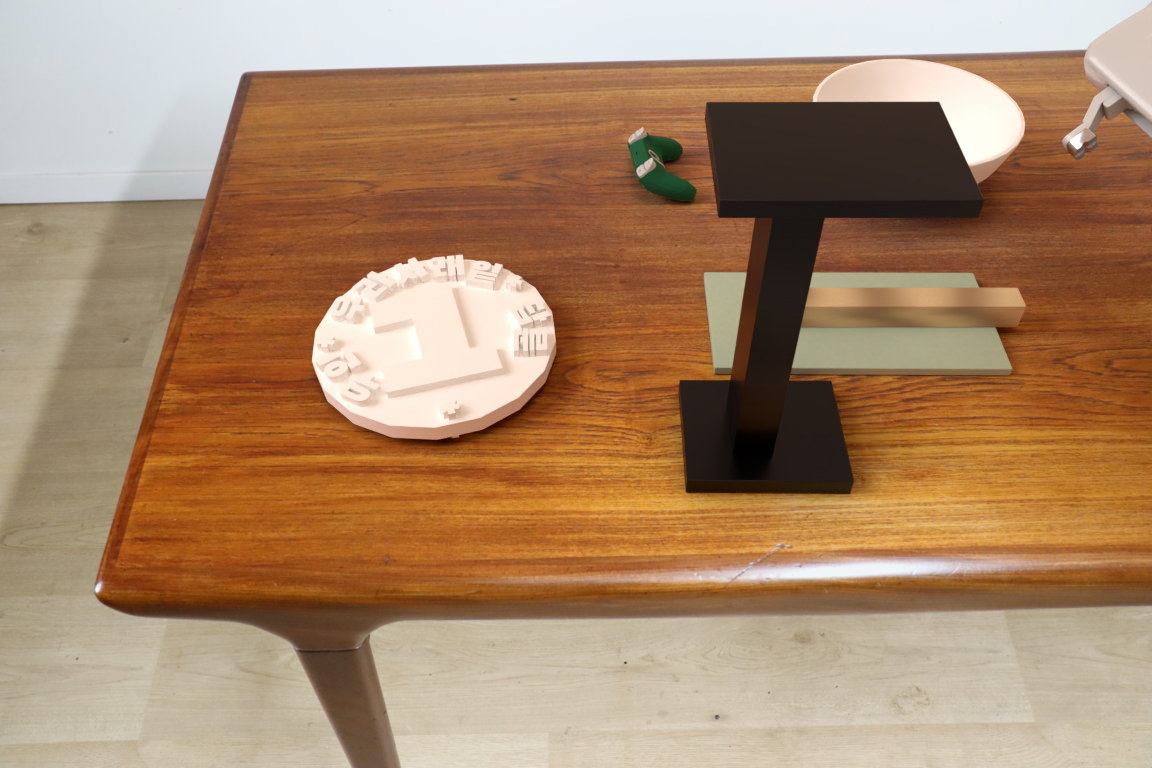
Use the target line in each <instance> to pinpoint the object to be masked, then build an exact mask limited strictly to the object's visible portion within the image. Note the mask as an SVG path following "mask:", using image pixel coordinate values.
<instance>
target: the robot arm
mask: <svg viewBox="0 0 1152 768" xmlns="http://www.w3.org/2000/svg"><path fill="white" fill-rule="evenodd" d="M1083 67H1084V73H1085V77H1086V80H1087V81H1088V82H1089V83H1090V84H1091V85H1092V86H1093V87H1094V88H1096V89H1097V90H1098V91H1099V92H1098V93H1097V94H1096V95H1095V96H1093V98H1092V101H1091V103H1090V105H1089V106H1088V109H1087V111H1086V113H1085V115H1084V117H1083V119H1082V122H1081V124H1080V125H1078V126H1077V127H1076V128H1074V129H1073V130H1071V131H1070V132H1069V133H1067V134H1066V135H1064V137H1062V139H1061V140H1062V141H1061V144H1062V148H1064V150H1066V152H1067V153H1069V155H1070V156H1072V157H1073V158H1074V160H1076V161H1079V160H1081V159H1083V158H1085V156H1086V154H1087V153H1091V152H1092V151H1094V150H1095V149H1096V148H1098V147H1099V145H1098V141H1097V140H1098V138H1097V135H1096V134H1095V133H1096V132H1097V129H1098V128H1099V126H1100V124H1101V122H1102V120H1103V118H1105V119H1106V120H1107V121H1110V122H1111V121H1112V120H1113V119H1115V118H1116V117H1117V116H1119V115H1121V114H1122V113H1123V115H1125V116H1126V117H1127V118H1128V119H1129V120H1130V121H1131V122H1132V123H1134V124H1135V125H1136V126H1137V127H1138V128H1139V129H1140V130H1141V131H1142V132H1143V133H1144V134H1145V135H1147V136H1148V138H1150V139H1151V140H1152V1H1150V2H1149V3H1148V4H1147V5H1146V6H1145V7H1144V8H1142V9H1141V10H1138V11H1137V12H1135V13H1133V14H1132V15H1130V16H1129V17H1127V18H1126V19H1123V20H1122V21H1121V22H1119V23H1117V24H1116V25H1114V26H1112V27H1111V28H1110V29H1108V30H1107V31H1105V32H1103V33H1102V34H1101V35H1099V36H1097V38H1095V39H1093V41H1091V42H1090V43H1089V44H1088V46H1087V48H1086V50H1085V53H1084V57H1083ZM1150 230H1151V232H1152V228H1150Z"/></svg>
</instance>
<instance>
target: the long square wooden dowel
mask: <svg viewBox="0 0 1152 768" xmlns="http://www.w3.org/2000/svg"><path fill="white" fill-rule="evenodd" d="M743 294H744V289H743ZM742 300H743V295H742ZM741 307H742V302H741ZM1026 308H1027V304H1026V303H1025V301H1024V298H1023V296H1022V294H1021V292H1020V289H1019V288H1018V287H979V288H809V293H808V297H807V302H806V306H805V311H804V315H803V320H802V325H801V327H996V328H1018V327H1019V325H1020V322H1021V320H1022V317H1023V315H1024V313H1025V311H1026Z"/></svg>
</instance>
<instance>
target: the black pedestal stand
mask: <svg viewBox="0 0 1152 768" xmlns="http://www.w3.org/2000/svg"><path fill="white" fill-rule="evenodd" d="M704 123H705V131H706V139H707V145H708V154H709V161H710V168H711V175H712V176H711V177H712V181H713V191H714V198H715V204H716V205H715V206H716V213H717V217H718V218H719V219H754V222H753V228H752V229H753V230H752V236H751V243H750V248H749V255H748V262H747V268H746V272H747V274H746V281H745V287H744V294H743V300H742V307H741V313H740V320H739V326H738V333H737V339H736V346H735V353H734V359H733V366H732V372H731V374H730V379H679V381H678V382H679V383H678V391H677V393H678V406H679V419H680V430H681V431H680V433H681V446H682V462H683V473H684V475H683V477H684V487H685V493H692V494H693V493H695V494H696V493H699V494H700V493H701V494H705V493H707V494H708V493H709V494H710V493H711V494H715V493H716V494H721V493H722V494H823V495H824V494H826V495H828V494H829V495H831V494H834V495H835V494H836V495H846V494H847V495H850V494H851V493H852V489H853V486H854V483H855V479H854V475H853V469H852V465H851V461H850V457H849V452H848V447H847V444H846V439H845V435H844V431H843V425H842V421H841V417H840V412H839V408H838V404H837V399H836V395H835V391H834V385H833V381H832V380H791V375H792V374H791V370H792V366H793V361H794V357H795V352H796V347H797V343H798V338H799V334H800V329H801V325H802V320H803V315H804V311H805V306H806V302H807V297H808V293H809V288H810V283H811V279H812V274H813V273H814V271H815V270H814V269H815V264H816V261H817V256H818V253H819V252H818V251H819V246H820V242H821V238H822V233H823V228H824V223H825V220H826V219H979V218H980V215H981V212H982V209H983V206H984V203H985V202H986V201H985V198H984V196H983V194H982V191H981V189H980V187H979V184H978V185H977V183H976V180H975V178H974V176H973V174H972V172H971V170H970V167H969V165H968V163H967V161H966V159H965V156H964V154H963V152H962V150H961V148H960V146H959V143H958V141H957V139H956V137H955V135H954V133H953V130H952V128H951V126H950V124H949V122H948V120H947V117H946V115H945V113H944V111H943V109H942V106H941V104H940V102H813V101H706V103H705V112H704Z"/></svg>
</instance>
